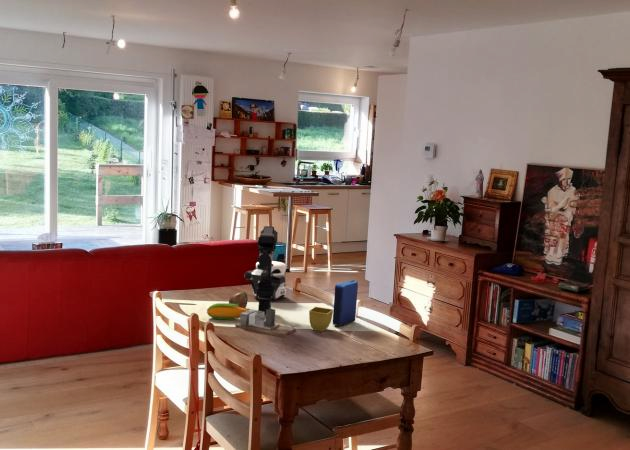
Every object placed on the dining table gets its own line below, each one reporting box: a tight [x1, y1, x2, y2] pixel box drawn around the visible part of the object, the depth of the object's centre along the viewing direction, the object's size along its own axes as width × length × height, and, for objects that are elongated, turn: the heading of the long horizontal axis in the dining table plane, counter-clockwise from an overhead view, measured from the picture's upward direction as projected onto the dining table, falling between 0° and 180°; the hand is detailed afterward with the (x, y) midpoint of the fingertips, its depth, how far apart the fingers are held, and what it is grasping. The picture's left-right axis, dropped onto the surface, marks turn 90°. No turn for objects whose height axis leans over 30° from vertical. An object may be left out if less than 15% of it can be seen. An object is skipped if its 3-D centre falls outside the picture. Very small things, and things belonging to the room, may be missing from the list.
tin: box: [228, 291, 249, 309], centre depth 329 cm, size 15×3×8 cm, turn 158°
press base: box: [234, 308, 297, 338], centre depth 303 cm, size 12×24×6 cm, turn 63°
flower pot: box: [308, 306, 334, 332], centre depth 306 cm, size 9×9×9 cm
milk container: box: [252, 260, 287, 301], centre depth 356 cm, size 17×17×18 cm
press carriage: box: [249, 308, 281, 330], centre depth 303 cm, size 8×11×8 cm
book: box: [332, 279, 359, 327], centre depth 316 cm, size 14×5×20 cm, turn 145°
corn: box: [206, 302, 248, 321], centre depth 315 cm, size 7×8×20 cm
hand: (263, 295), depth 313 cm, fingers open, 9 cm apart
